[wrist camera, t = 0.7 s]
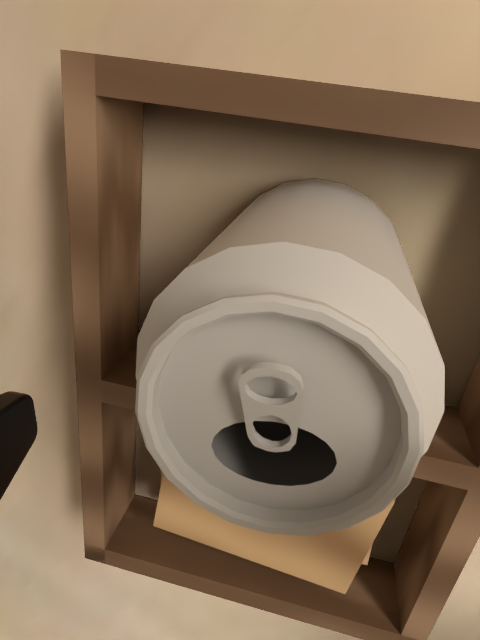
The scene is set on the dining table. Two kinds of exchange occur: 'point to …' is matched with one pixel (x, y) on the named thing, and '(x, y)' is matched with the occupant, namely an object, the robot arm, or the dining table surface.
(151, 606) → the dining table surface
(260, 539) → the offcut top
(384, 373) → the can
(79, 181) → the wooden divided tray
